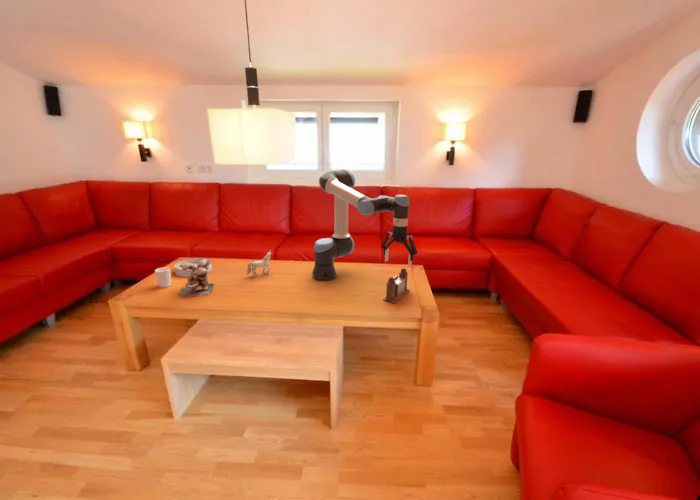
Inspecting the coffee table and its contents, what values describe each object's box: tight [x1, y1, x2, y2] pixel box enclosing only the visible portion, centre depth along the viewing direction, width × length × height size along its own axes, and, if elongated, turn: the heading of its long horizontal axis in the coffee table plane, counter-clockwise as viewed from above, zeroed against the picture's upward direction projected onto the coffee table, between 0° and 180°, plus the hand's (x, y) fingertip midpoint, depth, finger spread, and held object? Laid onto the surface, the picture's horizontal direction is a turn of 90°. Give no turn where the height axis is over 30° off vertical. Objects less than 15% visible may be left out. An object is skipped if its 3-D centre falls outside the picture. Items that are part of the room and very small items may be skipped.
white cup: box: [154, 266, 172, 289], centre depth 209 cm, size 8×8×10 cm
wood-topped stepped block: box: [393, 274, 405, 298], centre depth 197 cm, size 5×9×9 cm, turn 148°
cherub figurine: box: [178, 258, 215, 298], centre depth 202 cm, size 18×18×18 cm
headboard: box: [382, 267, 410, 304], centre depth 197 cm, size 7×19×14 cm, turn 148°
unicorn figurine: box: [246, 249, 273, 278], centre depth 225 cm, size 7×20×13 cm, turn 138°
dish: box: [174, 257, 213, 278], centre depth 232 cm, size 22×22×5 cm
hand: (397, 263), depth 193 cm, fingers open, 13 cm apart
